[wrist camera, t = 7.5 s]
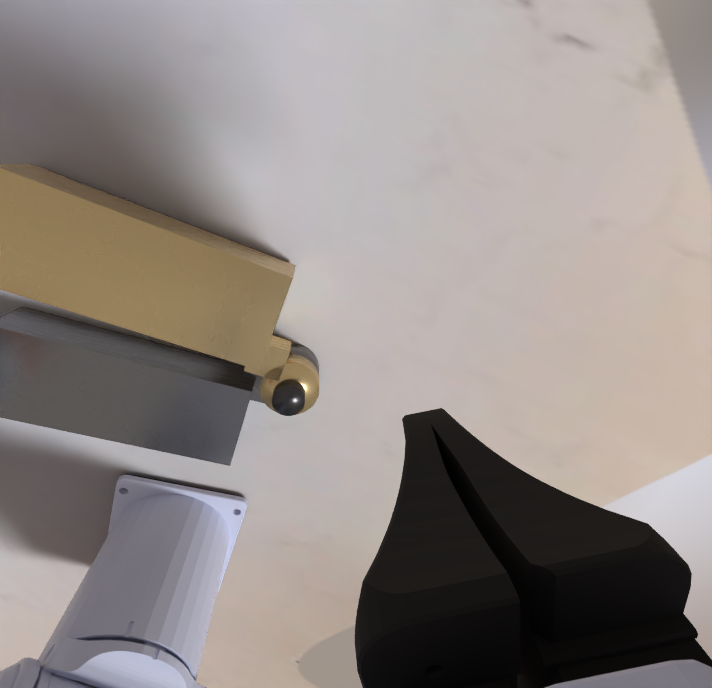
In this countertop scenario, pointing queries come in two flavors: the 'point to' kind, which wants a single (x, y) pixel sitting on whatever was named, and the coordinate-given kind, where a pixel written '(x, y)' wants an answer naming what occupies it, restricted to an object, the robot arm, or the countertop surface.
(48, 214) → the swing leaf
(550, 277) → the countertop surface
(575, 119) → the countertop surface
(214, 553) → the robot arm
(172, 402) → the fixed leaf
